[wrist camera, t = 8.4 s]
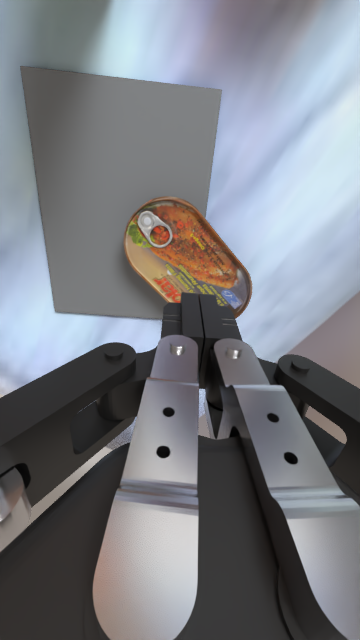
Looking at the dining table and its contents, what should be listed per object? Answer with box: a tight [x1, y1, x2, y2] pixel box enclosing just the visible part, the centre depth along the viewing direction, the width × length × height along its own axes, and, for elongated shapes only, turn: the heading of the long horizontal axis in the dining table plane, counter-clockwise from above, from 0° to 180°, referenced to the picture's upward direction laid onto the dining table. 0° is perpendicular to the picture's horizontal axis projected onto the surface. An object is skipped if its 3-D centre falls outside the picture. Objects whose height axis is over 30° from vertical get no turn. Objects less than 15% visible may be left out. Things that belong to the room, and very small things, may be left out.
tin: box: [123, 196, 252, 319], centre depth 30 cm, size 15×3×8 cm
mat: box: [20, 66, 222, 319], centre depth 29 cm, size 16×22×1 cm
